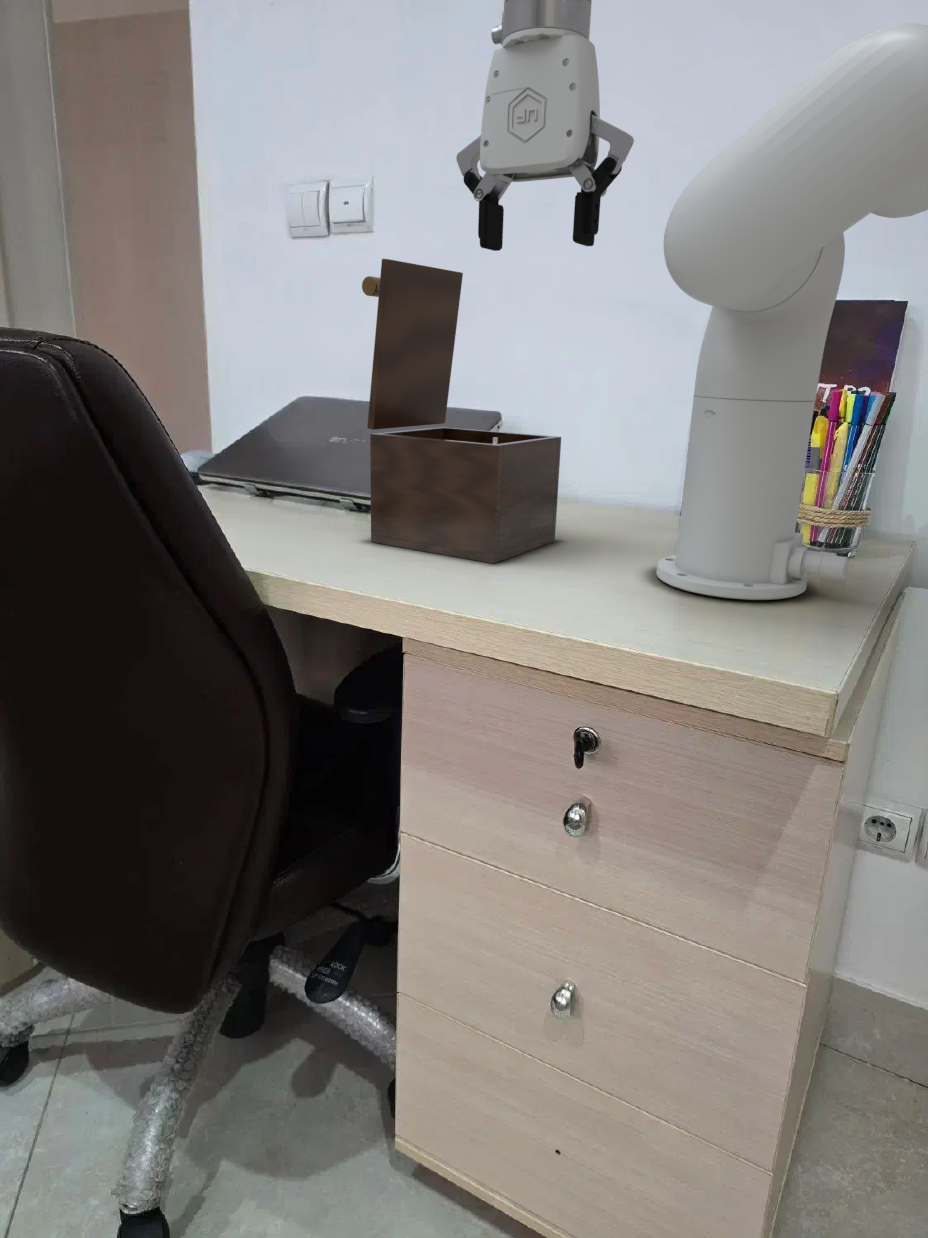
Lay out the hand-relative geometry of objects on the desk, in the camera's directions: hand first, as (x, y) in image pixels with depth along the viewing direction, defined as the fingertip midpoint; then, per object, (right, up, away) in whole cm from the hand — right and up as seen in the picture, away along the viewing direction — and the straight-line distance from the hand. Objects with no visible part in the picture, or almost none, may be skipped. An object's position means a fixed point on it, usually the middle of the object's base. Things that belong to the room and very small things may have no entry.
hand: (535, 246), depth 77 cm
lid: (-11, -8, +6) cm, 15 cm away
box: (-7, -27, +9) cm, 29 cm away
